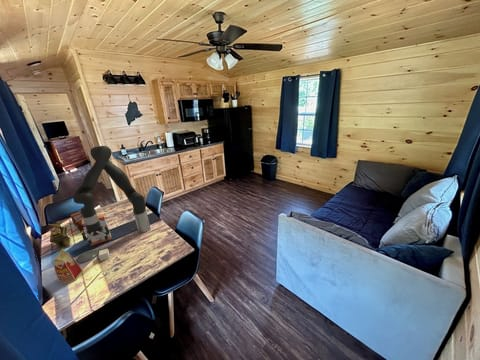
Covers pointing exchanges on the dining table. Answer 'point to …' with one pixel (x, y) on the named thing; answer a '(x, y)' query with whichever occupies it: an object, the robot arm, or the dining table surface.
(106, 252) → the cube
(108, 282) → the dining table surface
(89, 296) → the dining table surface
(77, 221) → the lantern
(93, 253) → the disc
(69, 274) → the milk carton
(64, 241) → the olive piece
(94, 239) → the cracker box
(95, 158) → the robot arm
